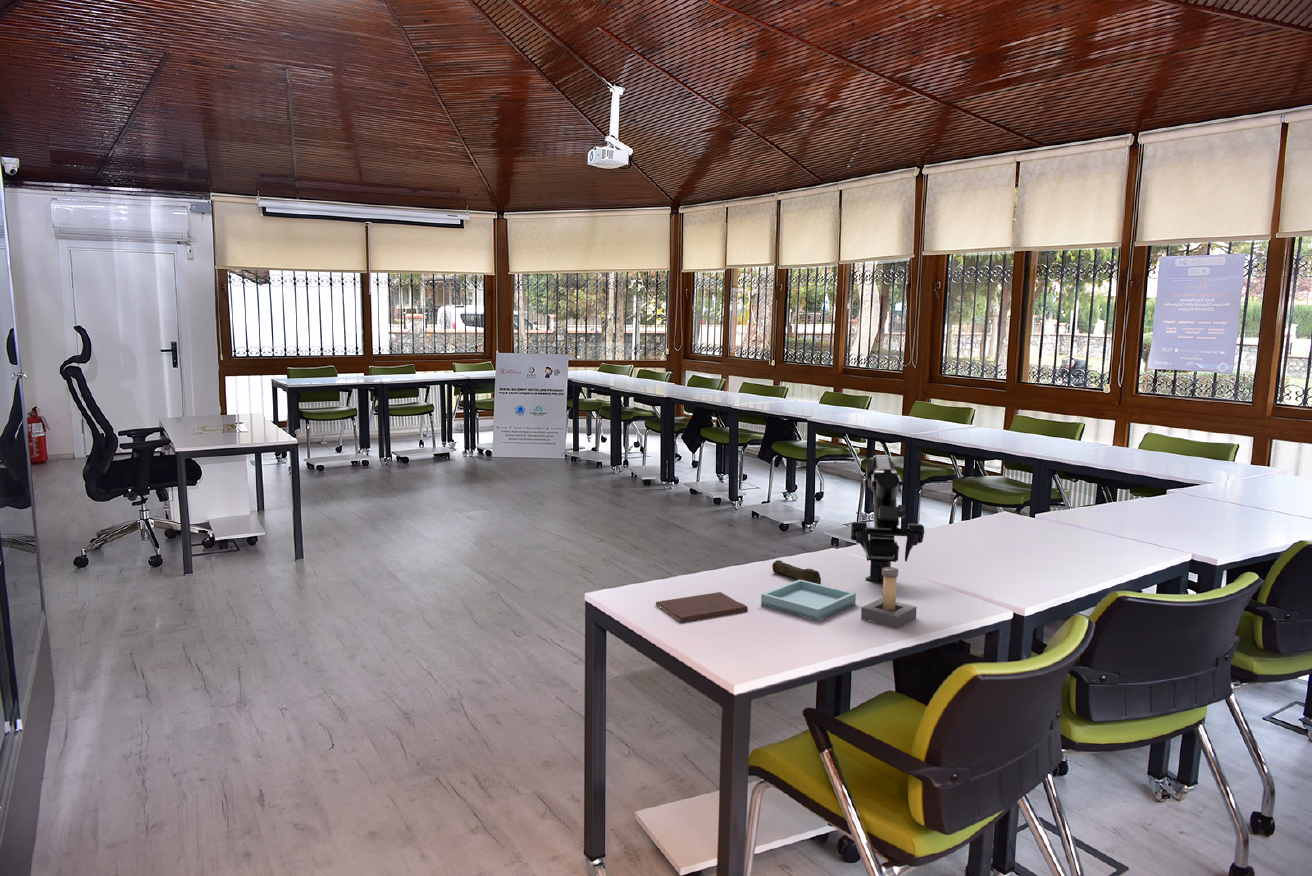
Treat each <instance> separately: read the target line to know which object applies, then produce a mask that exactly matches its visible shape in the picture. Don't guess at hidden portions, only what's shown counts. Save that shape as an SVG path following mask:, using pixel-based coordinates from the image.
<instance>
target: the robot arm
mask: <svg viewBox="0 0 1312 876" xmlns="http://www.w3.org/2000/svg"><path fill="white" fill-rule="evenodd" d="M865 469H866V470H865V480H866V481H867V482H868V483H867V484H868V485H867V487H868V488H869V489H870V491H871V492H872V493H873V526H872V527H871V526H868V525H867V522H866V521H852V523H851V526H850V539H851V540H852V541H855V542H856V544H860V546H861V547H862V549H863V550H864V552H865V554H866V555H865V557H866V561H870V569H869V576H867V577H864V578H865V580H867V581H870V582H875V583H879V584H883V577H884V576H883V575H882V568H884V567H892V562H893V563H896V562H898V561H899V554H900V553H899V552H900V546H899V545H898V542H897V541H895V539H896V538H895V537H906V542H905V551H904V561H905V562H908V559H909V556H910V553H911V550H912V549H913V547H914V546H918V544H921V543H923V540H924V536H925V527H924V525H923V524H920V523H908V525H907V528H898V527H899V524H900V518H901V519H904V518H905V517H906V505H905V504H898V505H897V497H898V494H899V488H901V487H902V486H903V485H904V484H903V479H902V478H901V476H900V474H898V471H897V470H896V467H895V463H894V462H893V461H892V460H891V456H890V455H889V454H875V455H873V457H872V459H871V460H870V461H868V462H867V463H866V468H865Z"/></svg>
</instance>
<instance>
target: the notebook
mask: <svg viewBox="0 0 1312 876" xmlns="http://www.w3.org/2000/svg"><path fill="white" fill-rule="evenodd" d="M656 605H657V606H656ZM655 606H656V607H658V606H659V607H661V608H662V609H663V610H662V609H661V608H660V609H661V610H662V611H664V612H665V611H666V612H667V613H666V612H665V613H666V614H668V613H669V614H670V615H669V614H668V615H669V616H671V615H672V616H673V617H674V619H675V618H676V619H677V620H676V619H675V620H676V621H678V620H679V621H680V622H683V623H688V622H689V623H690V622H693V621H700V620H706V619H713V618H718V617H722V616H723V617H725V616H728V615H729V616H730V615H734V614H742V613H747V611H749V609H748V606H747V605H746V604H744V603H743V602H739V601H737V600H736V599H734V598H732V597H730V596H729V595H727V594H725V593H724V592H721V591H718V592H717V591H716V592H712V593H704V594H700V595H692V596H686V597H684V596H683V597H679V598H673V599H665V600H660V601H659V600H658V601H656V602H655ZM659 607H658V608H659ZM672 616H671V617H672ZM673 617H672V618H673ZM679 621H678V622H679ZM687 621H688V622H687ZM680 622H679V623H680Z"/></svg>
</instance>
